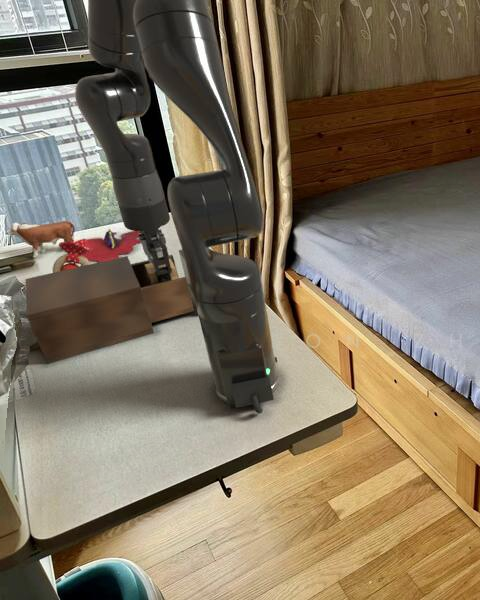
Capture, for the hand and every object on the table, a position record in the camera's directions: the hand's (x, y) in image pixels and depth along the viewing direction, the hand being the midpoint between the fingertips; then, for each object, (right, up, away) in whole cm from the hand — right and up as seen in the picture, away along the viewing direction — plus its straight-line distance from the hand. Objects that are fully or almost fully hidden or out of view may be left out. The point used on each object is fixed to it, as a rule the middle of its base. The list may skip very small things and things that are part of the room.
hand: (164, 285), depth 102 cm
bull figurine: (-38, +8, +26) cm, 47 cm away
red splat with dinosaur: (-25, +9, +28) cm, 39 cm away
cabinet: (-11, -8, -3) cm, 14 cm away
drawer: (+1, -3, +3) cm, 4 cm away
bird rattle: (-21, 0, +11) cm, 24 cm away
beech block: (0, 0, 0) cm, 1 cm away
